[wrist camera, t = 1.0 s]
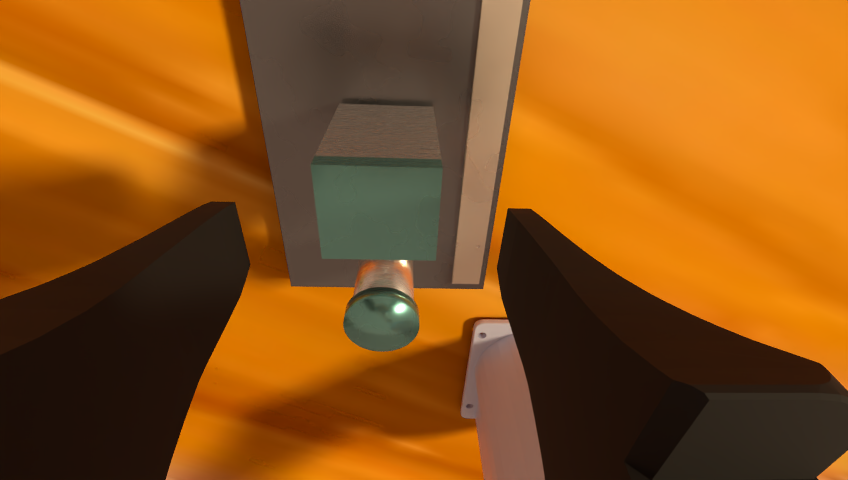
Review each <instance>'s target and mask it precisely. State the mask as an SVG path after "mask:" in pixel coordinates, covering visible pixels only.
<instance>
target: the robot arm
mask: <svg viewBox="0 0 848 480" xmlns="http://www.w3.org/2000/svg"><path fill="white" fill-rule="evenodd" d="M249 267H250V261H249V257H248V253H247V249H246V245H245V241H244V237H243V233H242V229H241V225H240V221H239V217H238V213H237V209H236V205H235V202H209V203H207V204H204V205H202V206H200V207H198V208H196V209H194V210H192V211H190V212H188V213H187V214H185V215H183V216H181V217H179V218H177V219H176V220H174V221H172V222H170V223H168V224H167V225H165V226H163V227H161V228H159V229H157V230H156V231H154V232H152V233H150V234H148V235H147V236H145V237H143V238H141V239H139V240H137V241H135V242H133V243H131V244H129V245H127V246H125V247H123V248H121V249H119V250H117V251H115V252H114V253H112V254H110V255H108V256H106V257H104V258H102V259H100V260H98V261H95V262H93V263H91V264H89V265H87V266H85V267H82V268H80V269H78V270H76V271H73V272H71V273H68V274H66V275H64V276H61V277H59V278H56V279H54V280H52V281H49V282H47V283H44V284H42V285H39V286H36V287H34V288H31V289H28V290H25V291H22V292H20V293H17V294H14V295H11V296H8V297H6V298H3V299H0V480H165V479H166V476H167V473H168V469H169V466H170V463H171V459H172V456H173V453H174V450H175V447H176V444H177V441H178V438H179V435H180V432H181V429H182V426H183V423H184V420H185V418H186V415H187V412H188V409H189V407H190V404H191V401H192V398H193V396H194V393H195V390H196V388H197V385H198V382H199V380H200V378H201V376H202V373H203V371H204V369H205V367H206V365H207V363H208V361H209V359H210V357H211V355H212V353H213V351H214V349H215V347H216V345H217V343H218V341H219V339H220V337H221V335H222V333H223V331H224V329H225V327H226V325H227V323H228V321H229V319H230V317H231V314H232V312H233V310H234V308H235V306H236V304H237V302H238V300H239V298H240V296H241V293H242V290H243V287H244V284H245V281H246V277H247V274H248V270H249ZM497 272H498V278H499V285H500V291H501V296H502V301H503V304H504V307H505V311H506V314H507V317H508V320H500V319H482V320H478V321H477V322H475V324H474V327H473V334H472V340H471V347H470V353H469V359H468V366H467V372H466V378H465V385H464V391H463V397H462V404H461V416H462V417H463V418H475V419H476V426H477V433H478V440H479V447H480V454H481V461H482V469H483V476H484V480H818V479H817V476H818V475H819V474H821V473H822V472H823V471H824V470H825V469H826V468H828V467H829V466H830V465H831V464H832V463H833V462H835V461H836V460H837V459H838V458H839V457H840V456H842V455H843V454H844V453H845V452H846V451H847V450H848V391H847V390H846V389H845V388H844V387H843V386H842V385H841V384H840V383H839V381H838V380H837V379H836V378H835V377H834V376H833V375H832V374H831V373H830V372H829V371H828V370H827V369H826V368H825V367H824V366H823V365H821V364H820V363H817V362H814V361H812V360H809V359H806V358H803V357H800V356H797V355H794V354H791V353H788V352H785V351H783V350H780V349H777V348H774V347H771V346H768V345H765V344H762V343H759V342H756V341H754V340H751V339H749V338H746V337H744V336H741V335H739V334H736V333H734V332H731V331H729V330H726V329H724V328H721V327H719V326H716V325H714V324H712V323H710V322H707V321H705V320H703V319H700V318H698V317H696V316H694V315H692V314H689V313H687V312H685V311H683V310H681V309H679V308H677V307H675V306H673V305H671V304H669V303H667V302H665V301H663V300H661V299H659V298H657V297H655V296H654V295H652V294H650V293H648V292H646V291H645V290H643V289H641V288H639V287H638V286H636V285H634V284H633V283H631V282H629V281H628V280H626V279H624V278H622V277H621V276H619V275H618V274H616V273H615V272H613V271H612V270H610V269H609V268H607V267H606V266H604V265H603V264H601V263H600V262H599V261H597V260H596V259H594V258H593V257H591V256H590V255H589V254H587V253H586V252H585V251H583V250H582V249H581V248H579V247H578V246H577V245H576V244H574V243H573V242H572V241H570V240H569V239H568V238H567V237H565V236H564V235H563V234H562V233H560V232H559V231H558V230H557V229H556V228H554V227H553V226H552V225H551V224H549V223H548V222H547V221H546V220H545V219H543V218H542V217H541V216H539V215H538V214H537V213H536V212H534V211H533V210H531V209H512V208H508V211H507V216H506V222H505V227H504V233H503V238H502V244H501V249H500V254H499V260H498V265H497ZM479 333H482V334H479Z"/></svg>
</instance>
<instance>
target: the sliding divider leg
mask: <svg viewBox="0 0 848 480" xmlns="http://www.w3.org/2000/svg"><path fill="white" fill-rule="evenodd" d="M442 172H443V166H442V160H441V153H440V147H439V141H438V134H437V128H436V121H435V115H434V109H433V107H425V106H397V105H368V104H340V103H339V105H338V107H337V109H336V112H335V114H334V116H333V118H332V120H331V122H330V124H329V126H328V129H327V131H326V133H325V135H324V137H323V139H322V141H321V143H320V146H319V148H318V150H317V152H316V154H315V156H314V158H313V160H312V162H311V173H312V181H313V189H314V198H315V206H316V214H317V223H318V231H319V239H320V248H321V256H322V259H366V260H425V261H436V252H437V239H438V226H439V212H440V199H441V186H442Z"/></svg>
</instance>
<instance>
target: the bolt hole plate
mask: <svg viewBox="0 0 848 480" xmlns="http://www.w3.org/2000/svg"><path fill="white" fill-rule="evenodd" d="M240 5H241V10H242V16H243V21H244V27H245V32H246V38H247V43H248V49H249V54H250V60H251V66H252V71H253V77H254V82H255V88H256V93H257V99H258V104H259V110H260V115H261V121H262V126H263V132H264V137H265V143H266V148H267V154H268V160H269V165H270V171H271V176H272V182H273V187H274V193H275V198H276V204H277V209H278V215H279V220H280V226H281V231H282V237H283V242H284V248H285V254H286V259H287V265H288V270H289V276H290V281H291V286H306V287H355V283H356V277H357V271H358V265H359V259H322V256H321V248H320V239H319V231H318V223H317V214H316V206H315V198H314V189H313V181H312V173H311V162H312V160H313V158H314V156H315V154H316V152H317V150H318V148H319V146H320V143H321V141H322V139H323V137H324V135H325V133H326V131H327V129H328V126H329V124H330V122H331V120H332V118H333V116H334V114H335V112H336V109H337V107H338V105H339V103H340V104H368V105H397V106H425V107H433V109H434V115H435V121H436V128H437V134H438V141H439V147H440V153H441V160H442V166H443V172H442V186H441V199H440V212H439V226H438V239H437V252H436V261H425V260H413V288H450V289H483V286H484V280H485V274H486V268H487V262H488V256H489V249H490V243H491V237H492V231H493V225H494V219H495V213H496V207H497V201H498V195H499V188H500V182H501V176H502V170H503V164H504V158H505V152H506V146H507V140H508V133H509V127H510V121H511V115H512V109H513V103H514V97H515V91H516V85H517V79H518V72H519V66H520V60H521V54H522V48H523V42H524V36H525V30H526V24H527V17H528V11H529V5H530V0H240Z"/></svg>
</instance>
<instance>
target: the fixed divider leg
mask: <svg viewBox="0 0 848 480" xmlns="http://www.w3.org/2000/svg"><path fill="white" fill-rule="evenodd" d="M343 326H344V330H345V333H346V334H347V336H348V337H349V339H350V340H351V341H352V342H354V343H355V344H357V345H358V346H360V347H362V348H365V349H368V350H372V351H392V350H396V349H400V348H402V347H404V346H406V345H408V344H409V343H410V342H411V341H412V340H413V339H414V338H415V337H416V335H417V333H418V330H419V310H418V307H417V305H416V303H415V301H414V299H413V260H366V259H359V265H358V271H357V277H356V283H355V289H354V295H353V297H352V298H351V299H350V301H349V302H348V304H347V307H346V311H345V317H344V322H343Z"/></svg>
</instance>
